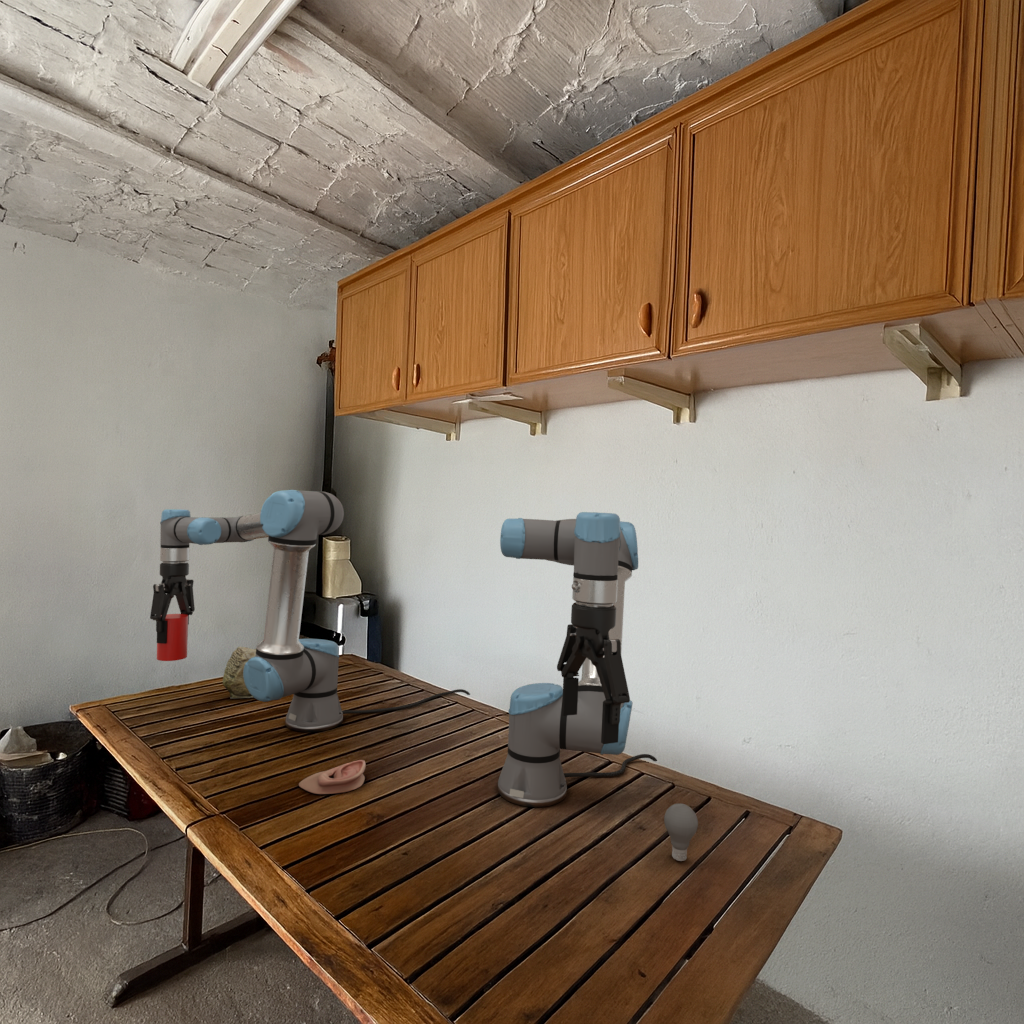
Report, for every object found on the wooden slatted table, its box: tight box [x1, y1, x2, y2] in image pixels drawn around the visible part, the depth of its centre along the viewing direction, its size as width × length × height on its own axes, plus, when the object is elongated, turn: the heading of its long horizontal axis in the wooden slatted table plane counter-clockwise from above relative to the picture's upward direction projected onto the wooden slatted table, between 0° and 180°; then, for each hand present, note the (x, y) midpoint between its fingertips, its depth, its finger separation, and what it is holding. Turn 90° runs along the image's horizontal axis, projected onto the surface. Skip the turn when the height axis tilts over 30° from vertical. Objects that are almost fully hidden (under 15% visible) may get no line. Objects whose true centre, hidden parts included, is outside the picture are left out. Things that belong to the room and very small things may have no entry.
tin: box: [156, 613, 189, 662], centre depth 185 cm, size 8×8×12 cm
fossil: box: [222, 646, 256, 699], centre depth 198 cm, size 9×18×15 cm, turn 132°
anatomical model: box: [298, 759, 367, 795], centre depth 140 cm, size 13×4×12 cm
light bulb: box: [663, 802, 699, 862], centre depth 116 cm, size 6×6×10 cm
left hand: (172, 639), depth 185 cm, fingers closed on tin, 8 cm apart
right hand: (588, 727), depth 108 cm, fingers open, 13 cm apart
